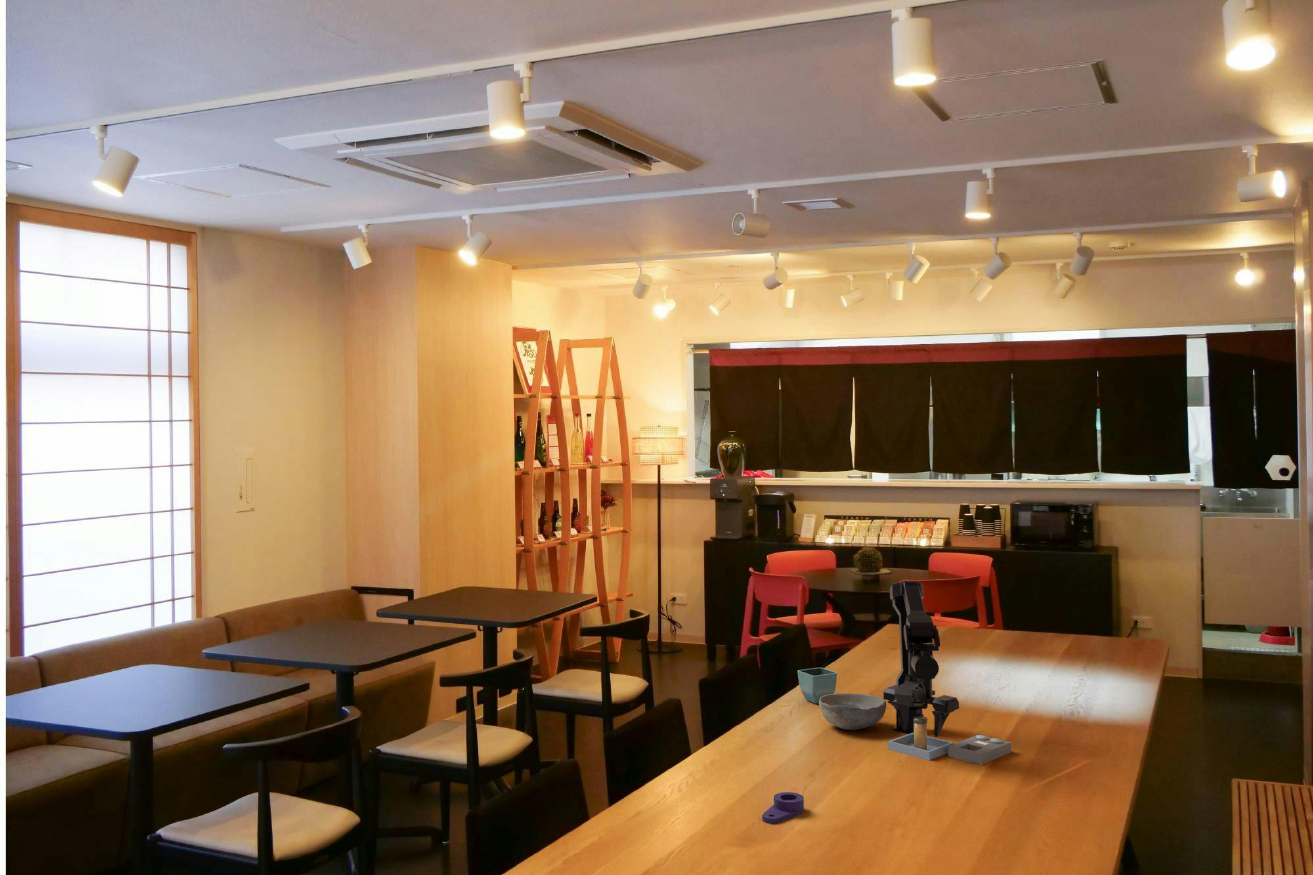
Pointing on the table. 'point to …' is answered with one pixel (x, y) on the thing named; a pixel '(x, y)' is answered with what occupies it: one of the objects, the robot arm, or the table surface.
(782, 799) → the lever
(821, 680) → the flower pot
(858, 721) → the bowl
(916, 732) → the cylinder
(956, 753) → the panel
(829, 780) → the table surface
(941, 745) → the parts tray
